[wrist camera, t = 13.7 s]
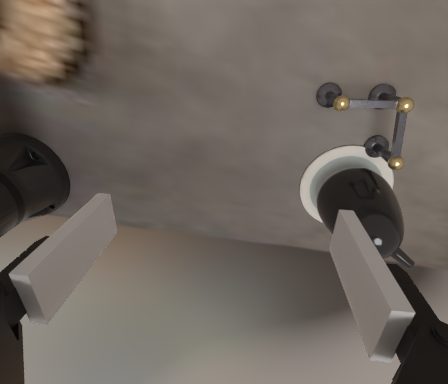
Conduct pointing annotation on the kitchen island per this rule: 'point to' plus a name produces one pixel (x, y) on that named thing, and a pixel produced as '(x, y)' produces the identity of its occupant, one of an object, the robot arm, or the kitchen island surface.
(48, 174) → the robot arm
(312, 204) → the coaster
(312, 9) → the kitchen island surface
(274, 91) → the kitchen island surface
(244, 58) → the kitchen island surface
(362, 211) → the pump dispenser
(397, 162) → the metal corner railing
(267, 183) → the kitchen island surface
